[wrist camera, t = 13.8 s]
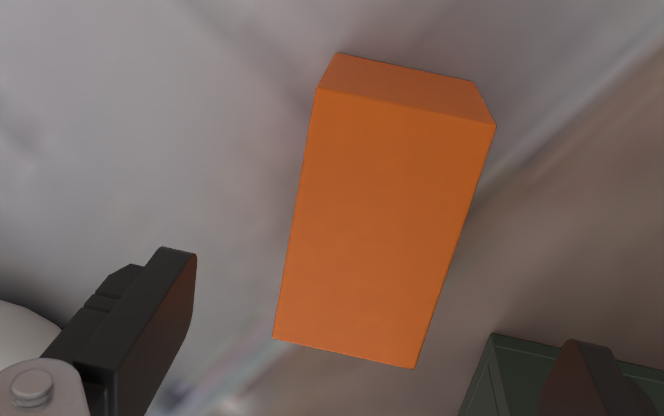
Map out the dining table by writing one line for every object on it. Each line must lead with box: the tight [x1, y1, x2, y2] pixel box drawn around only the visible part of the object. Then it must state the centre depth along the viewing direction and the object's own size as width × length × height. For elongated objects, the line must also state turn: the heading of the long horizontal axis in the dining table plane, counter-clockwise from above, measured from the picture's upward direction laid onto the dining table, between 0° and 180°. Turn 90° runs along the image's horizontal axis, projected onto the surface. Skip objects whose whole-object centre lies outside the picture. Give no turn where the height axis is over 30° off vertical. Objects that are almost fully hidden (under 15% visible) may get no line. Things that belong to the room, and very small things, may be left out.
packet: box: [272, 53, 497, 369], centre depth 17 cm, size 4×8×4 cm, turn 169°
